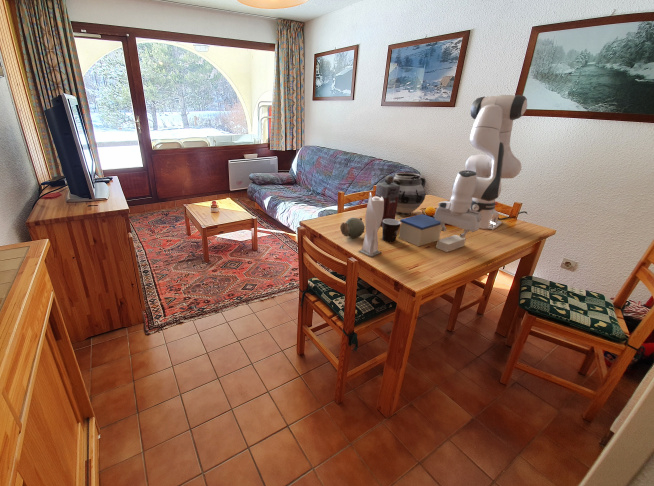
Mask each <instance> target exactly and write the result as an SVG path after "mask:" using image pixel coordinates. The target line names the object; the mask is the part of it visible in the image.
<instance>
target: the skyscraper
mask: <svg viewBox="0 0 654 486" xmlns="http://www.w3.org/2000/svg"><path fill="white" fill-rule="evenodd" d="M382 199H383V197H381V198H380V197H377V196H375V195H374V196H373V195H372V192H369V194H368V199H367V204H366V210H365V217H364V221H365V222H364V226H365V235H364V239H363V242H362V247H361V249H360V250H358V252H359V253H361V254H364V255H366V256H368V257H370V258H373V257H375V256H377V255H379V254H381V251H379V235H378V232H379V230H380V228H381V226H380V225H381V222H382V218H383V210H384V199H383V200H382Z"/></svg>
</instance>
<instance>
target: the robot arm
mask: <svg viewBox="0 0 654 486" xmlns="http://www.w3.org/2000/svg"><path fill="white" fill-rule="evenodd" d="M527 108H528V99H527V97H526V96H525V95H521V94H516V95H513V94H499V95H491V96H490V95H489V96H480V97H477V98H476V99H475V100H474V101H473V102H472V104H471V106H470V117H471V118H472V119H473V120H474V122H473V125H472V128H471V131H470V135H469V143H470V144H471V146H472V147H473V148H474V149H476V150H477V151H479V152H481V153H479V154H471V155H470V156H469V157H468V158H467V159H466V161H465V166H464V167H465V169H466V170H465V169H464V170H460V171H458V172H457V174H456V177H455V179H454V180H453V183H452V187H451V192H452V194H451V196H450V199H449V200H442V201H439V202H438V204H437V207H436V209H435V212H434V217H433V218H435V220H437V221H440V222H441V223H440V224H441V227H442V229H441V232H447V229H448V228H447V227H446V225H450V226H453V227H456V228H459V229H462V230H463V233H460V235H459V236H460V237H461V238H466V235H468V234H469V232H471V233H476V232H478V231H479V229H483V230H484V229H485V230H495V229H497V228H498V227H500V226H501V225H502V221H501V220H506V219H510V218H512V217H510V216H506V217H501V218H500V214H499V212H498V211H497V210H496V209H495V208H496V206H497V205H498V204H499V202H498V201H496V199H498V198H499V196H501V193H502V179H515V177H517V176H518V175H519V174H520V173H521V171H522V163H521V160H520V159H518V158H517V157H516V156H515V155H514V153H513V151H512V149H511V137H512V131H513V126H514V121H515V120H518V119H520V118H522V117H523V115H524V114H525V112H526V111H527V110H528V109H527ZM483 153H484V154H483ZM517 213H518V214H517V215H520V214H524V213H525V214H526V215H527V214H528V211H519V212H517Z"/></svg>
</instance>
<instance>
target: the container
mask: <svg viewBox="0 0 654 486" xmlns="http://www.w3.org/2000/svg"><path fill="white" fill-rule="evenodd" d="M399 221H400V222H401V224H400V227H399V233H398V234H399V235H398V238H399V240H403V241H405V242H407V243H410V244H412V245H414V246H417V247H421V246H424V245H427V244H431V243H434V242H436V241H437V242H438V240H440V239H441V238H440V237H441V234H442V233H441V232H442V231H441V229H442V227H441V224H440V223H441V222H440V221H437V220H435V218H434V217H432V216H429V215H426V214H423V213H421V214H417V215H412V216H408V217H404V218H400V220H399Z"/></svg>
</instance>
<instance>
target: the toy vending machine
mask: <svg viewBox="0 0 654 486" xmlns="http://www.w3.org/2000/svg"><path fill="white" fill-rule="evenodd" d="M393 178H394V176H392V175H390V174H389V175H386V176H385V177H384V182H377V184H376V188H375V195H374V196H377V197H380V198H381V197H383V199H384V210H383V218H382V222H381V225H380V228H382V225H383V220H384V219H395V220H396V216H397V214H396V210H397V203H398V197H399V190H400V185H397V184H394V183H392V182H393ZM383 199H382V200H383Z"/></svg>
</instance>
